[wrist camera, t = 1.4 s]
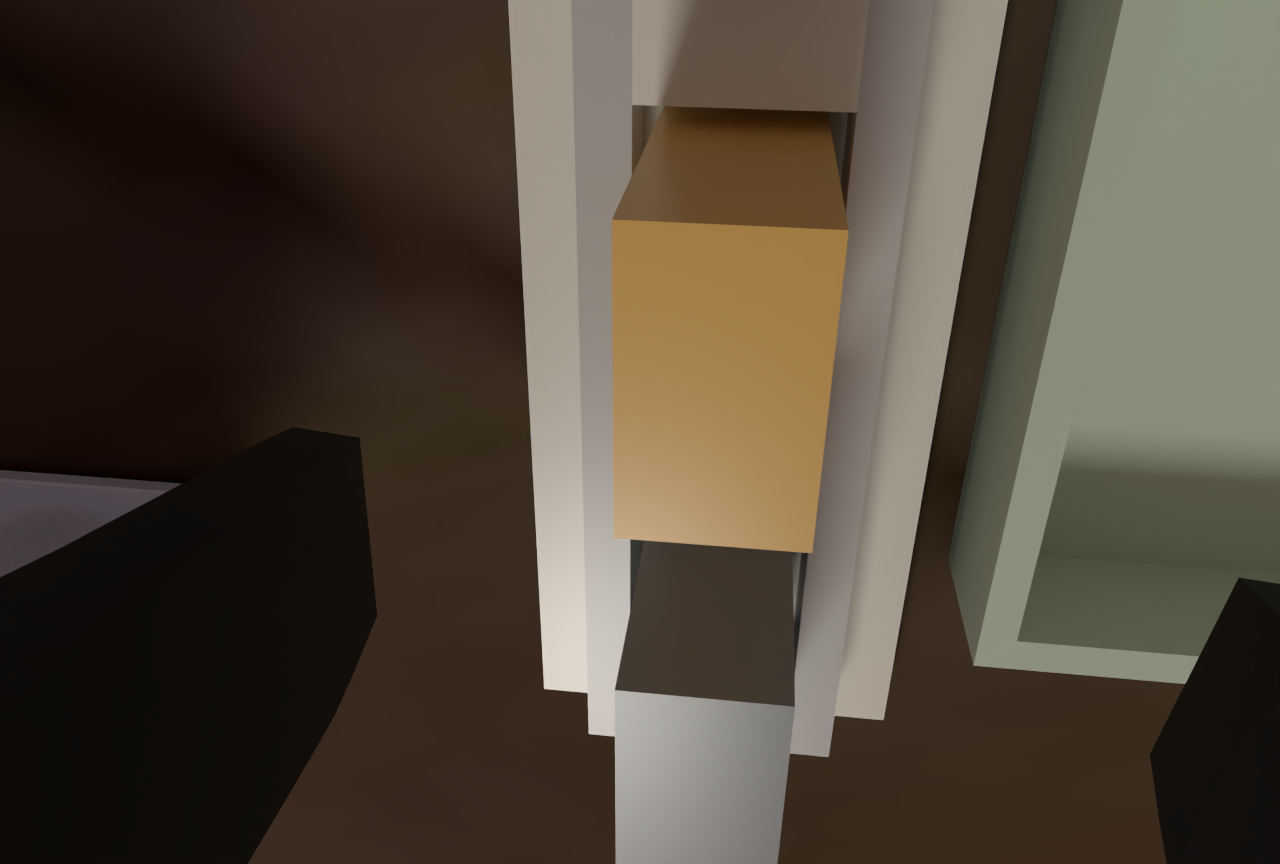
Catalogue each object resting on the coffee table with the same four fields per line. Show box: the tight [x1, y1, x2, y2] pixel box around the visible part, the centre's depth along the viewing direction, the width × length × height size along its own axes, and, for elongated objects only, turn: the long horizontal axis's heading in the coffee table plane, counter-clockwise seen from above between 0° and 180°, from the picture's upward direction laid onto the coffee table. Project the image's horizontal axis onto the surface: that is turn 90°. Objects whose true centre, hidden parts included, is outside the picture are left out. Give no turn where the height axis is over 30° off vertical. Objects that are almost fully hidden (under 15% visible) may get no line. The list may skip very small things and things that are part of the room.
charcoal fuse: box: [615, 540, 795, 864], centre depth 17 cm, size 2×4×6 cm, turn 0°
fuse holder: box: [508, 0, 1008, 757], centre depth 16 cm, size 7×20×2 cm, turn 0°
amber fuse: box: [612, 106, 849, 553], centre depth 14 cm, size 2×4×6 cm, turn 0°
